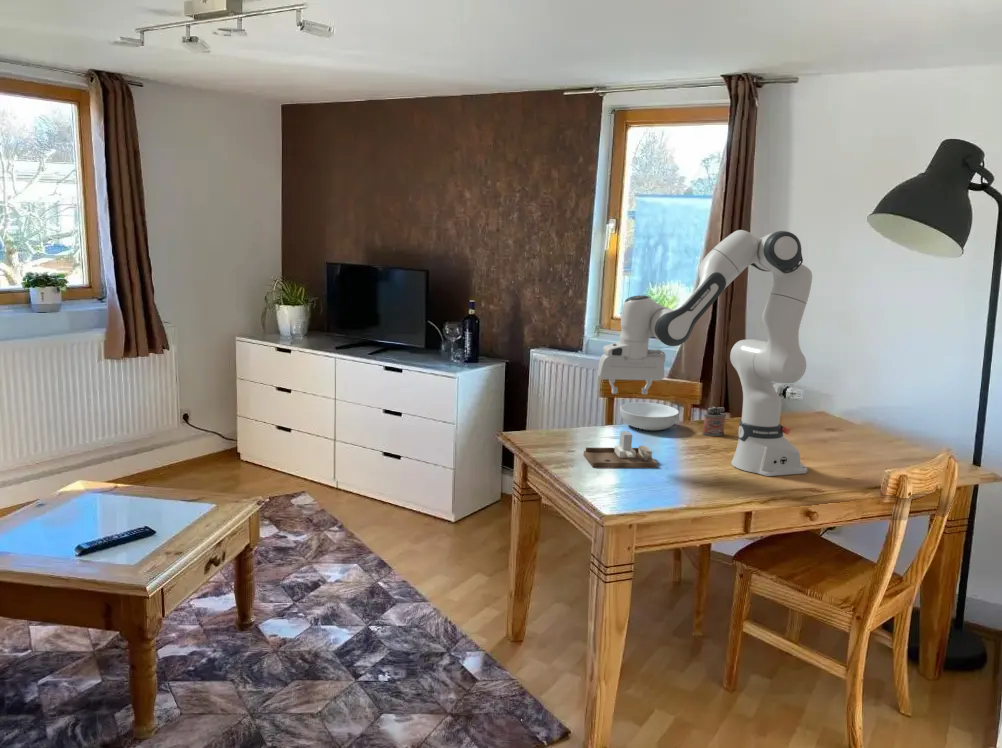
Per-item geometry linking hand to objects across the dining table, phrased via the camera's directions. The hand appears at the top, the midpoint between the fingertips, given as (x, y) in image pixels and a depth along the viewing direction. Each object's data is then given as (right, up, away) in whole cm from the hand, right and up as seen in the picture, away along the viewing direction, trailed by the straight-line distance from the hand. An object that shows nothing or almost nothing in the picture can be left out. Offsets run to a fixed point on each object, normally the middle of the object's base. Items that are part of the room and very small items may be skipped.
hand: (629, 393), depth 246 cm
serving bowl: (+14, -14, +44) cm, 48 cm away
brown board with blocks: (-3, -21, +2) cm, 21 cm away
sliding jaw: (-1, -19, +2) cm, 20 cm away
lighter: (+36, -16, +39) cm, 55 cm away
